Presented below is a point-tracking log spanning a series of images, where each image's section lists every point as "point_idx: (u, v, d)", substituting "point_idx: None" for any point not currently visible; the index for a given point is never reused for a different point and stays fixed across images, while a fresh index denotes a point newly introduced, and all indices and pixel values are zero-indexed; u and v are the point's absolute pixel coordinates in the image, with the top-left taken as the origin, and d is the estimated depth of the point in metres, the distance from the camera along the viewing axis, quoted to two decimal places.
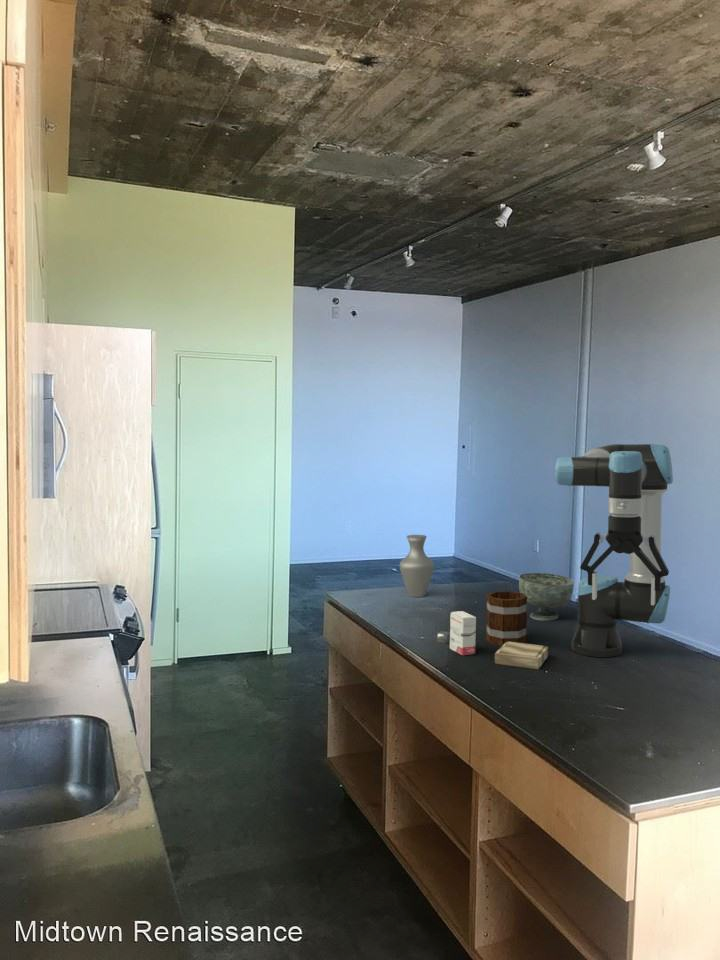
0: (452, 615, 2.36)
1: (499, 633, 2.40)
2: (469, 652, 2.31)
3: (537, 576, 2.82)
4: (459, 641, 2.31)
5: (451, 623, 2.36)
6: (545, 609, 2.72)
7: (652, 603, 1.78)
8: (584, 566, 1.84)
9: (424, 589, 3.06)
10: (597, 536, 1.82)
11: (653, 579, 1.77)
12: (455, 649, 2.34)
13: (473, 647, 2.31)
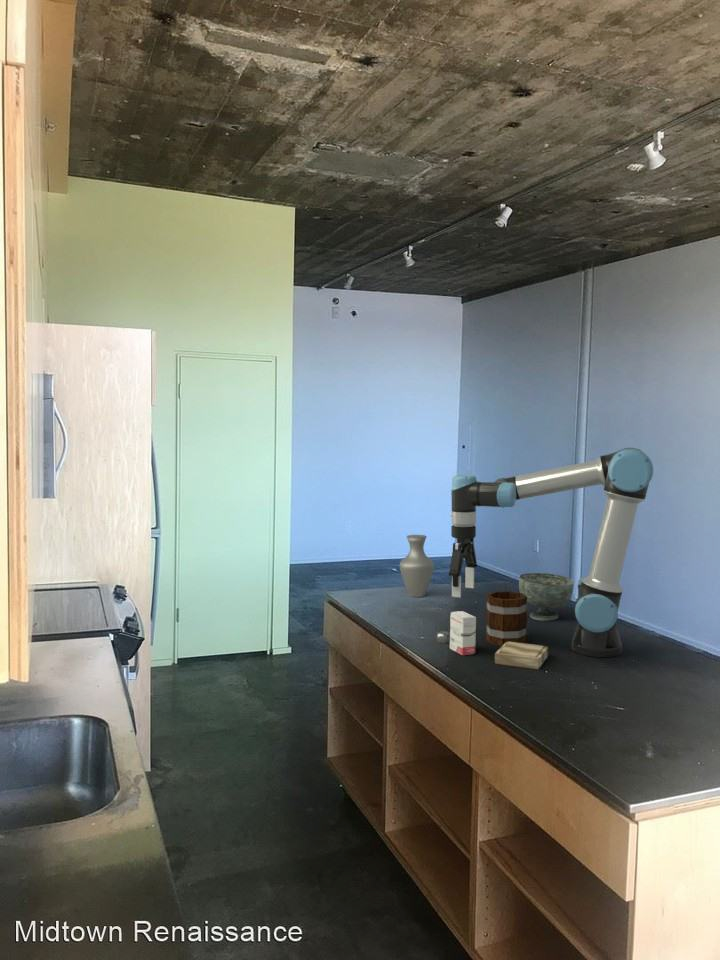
0: (452, 615, 2.36)
1: (499, 633, 2.40)
2: (469, 652, 2.31)
3: (537, 576, 2.82)
4: (459, 641, 2.31)
5: (451, 623, 2.36)
6: (545, 609, 2.72)
7: None
8: None
9: (424, 589, 3.06)
10: None
11: None
12: (455, 649, 2.34)
13: (473, 647, 2.31)
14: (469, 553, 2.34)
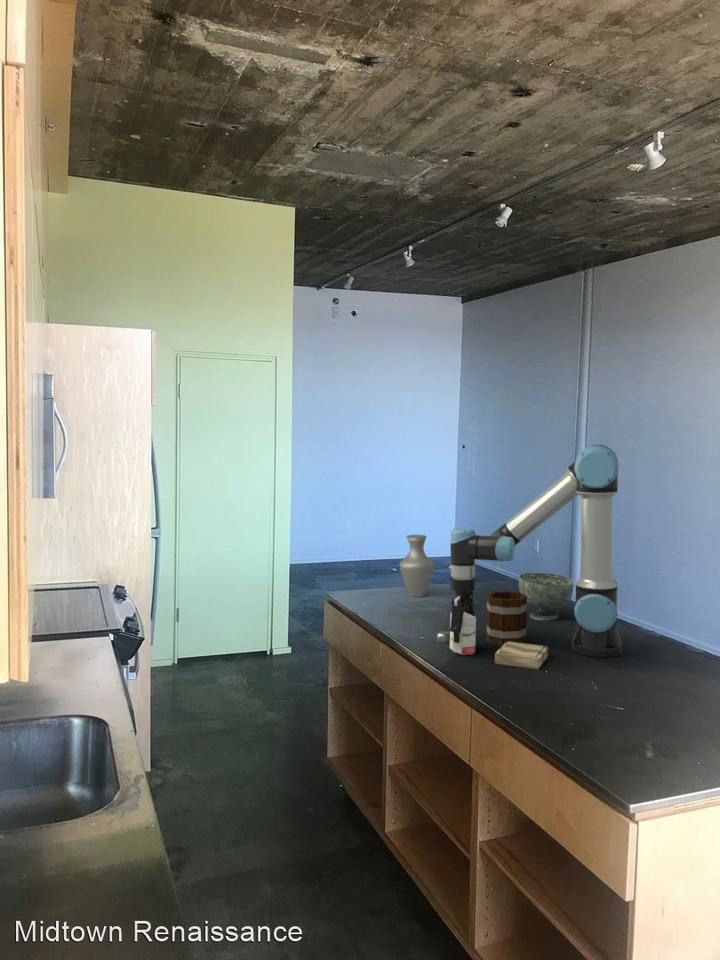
0: None
1: (499, 633, 2.40)
2: (469, 652, 2.31)
3: (537, 576, 2.82)
4: None
5: None
6: (545, 609, 2.72)
7: None
8: None
9: (424, 589, 3.06)
10: None
11: None
12: None
13: (473, 647, 2.31)
14: (467, 606, 2.35)
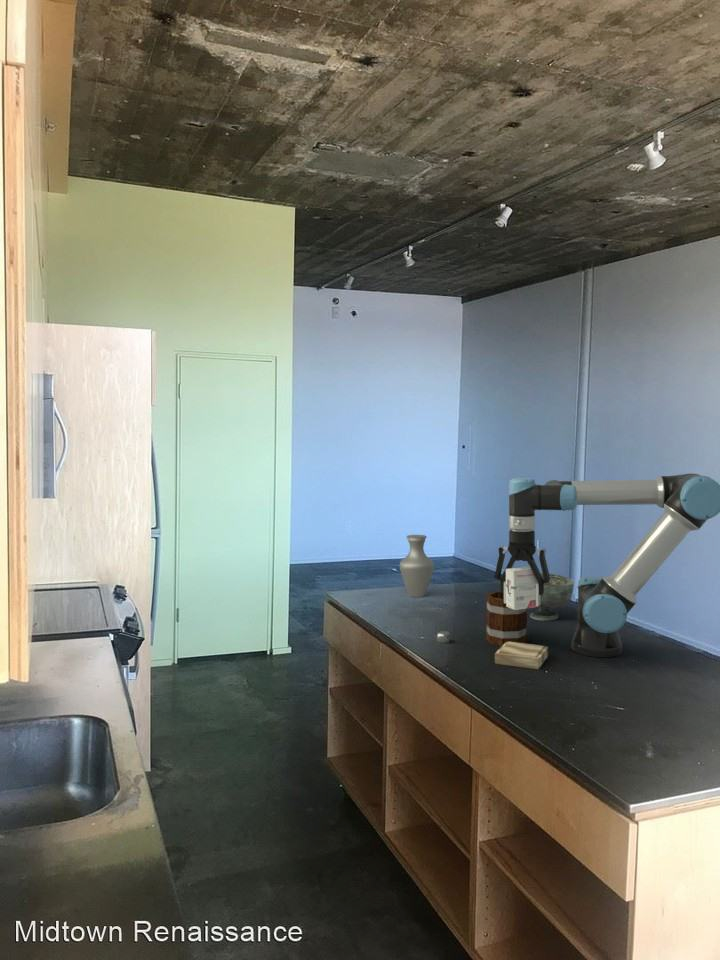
0: (518, 573, 2.21)
1: (499, 633, 2.40)
2: None
3: None
4: (533, 594, 2.23)
5: (517, 582, 2.20)
6: (545, 609, 2.72)
7: (537, 605, 2.21)
8: (497, 575, 2.26)
9: (424, 589, 3.06)
10: (500, 549, 2.25)
11: (537, 585, 2.20)
12: (526, 606, 2.22)
13: None
14: (515, 560, 2.25)
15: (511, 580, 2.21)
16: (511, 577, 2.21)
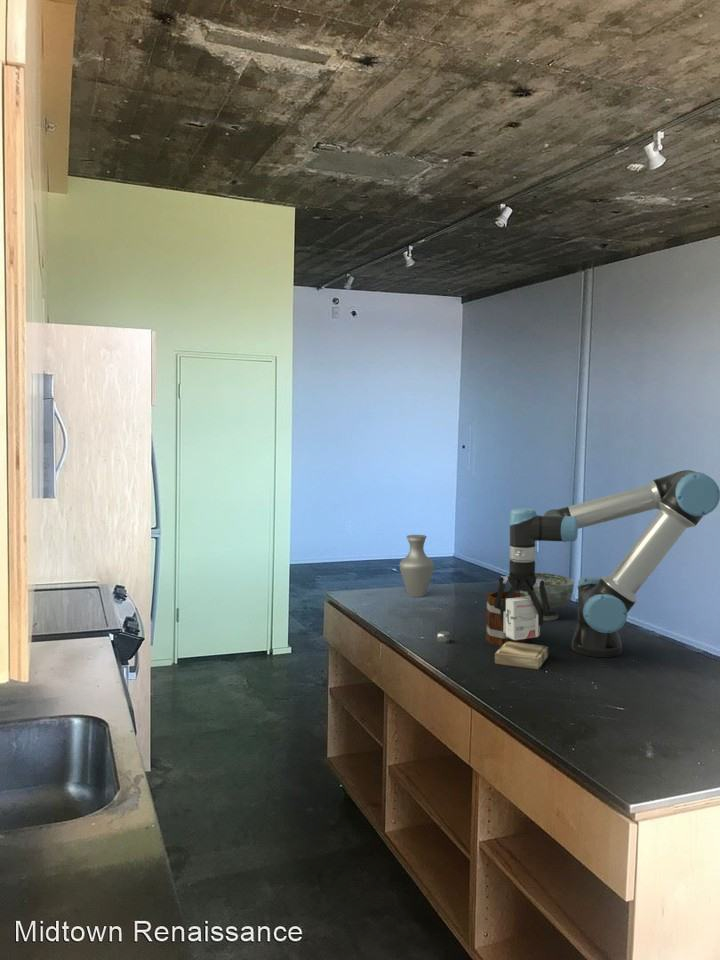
0: (518, 603, 2.21)
1: (499, 633, 2.40)
2: None
3: (537, 576, 2.82)
4: (532, 625, 2.23)
5: (517, 612, 2.21)
6: None
7: (536, 635, 2.22)
8: (497, 605, 2.26)
9: (424, 589, 3.06)
10: (501, 579, 2.25)
11: (537, 616, 2.21)
12: (525, 636, 2.23)
13: None
14: (515, 590, 2.26)
15: (511, 610, 2.22)
16: (511, 608, 2.22)
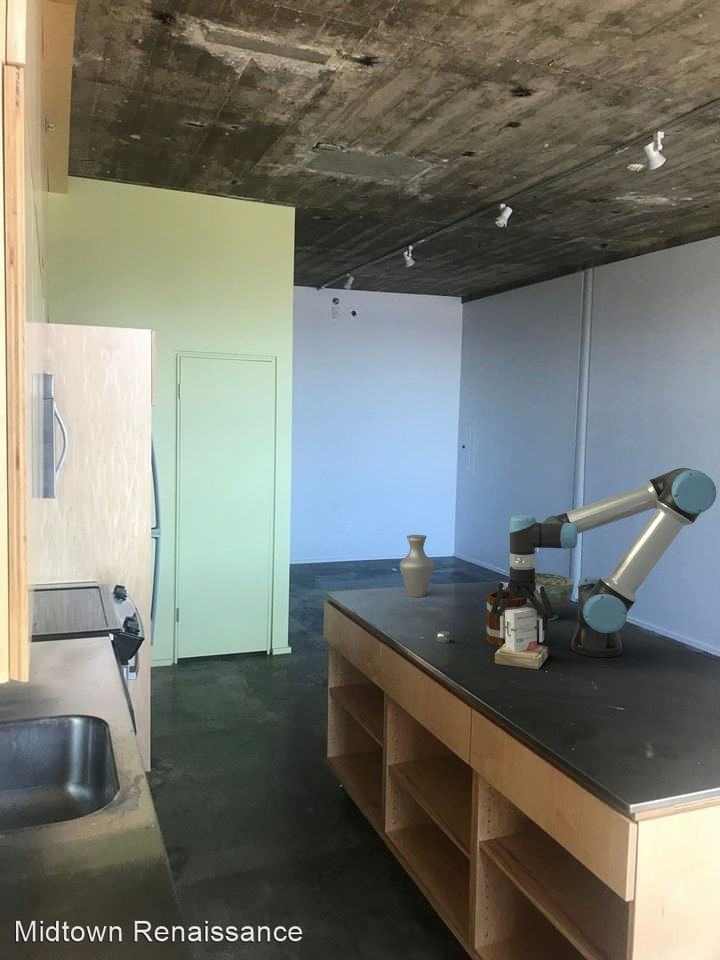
0: (518, 615, 2.22)
1: (499, 633, 2.40)
2: None
3: (537, 576, 2.82)
4: (532, 636, 2.24)
5: (517, 624, 2.21)
6: None
7: (540, 640, 2.21)
8: (494, 610, 2.27)
9: (424, 589, 3.06)
10: (501, 585, 2.25)
11: (541, 621, 2.21)
12: (525, 647, 2.23)
13: None
14: None
15: (511, 622, 2.22)
16: (511, 620, 2.22)
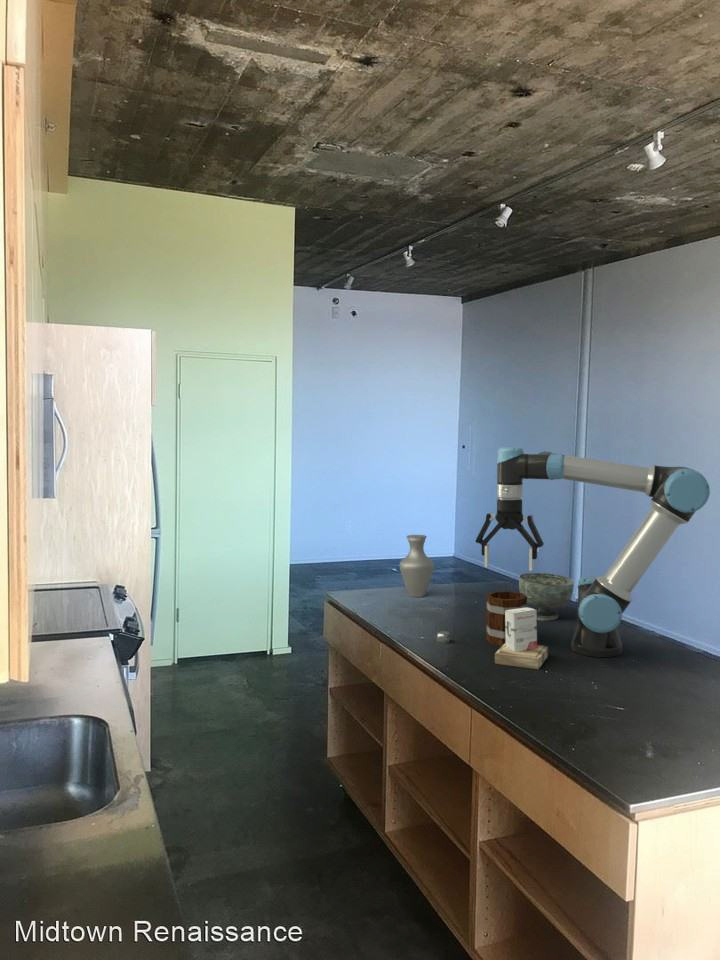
0: (518, 615, 2.22)
1: (499, 633, 2.40)
2: None
3: (537, 576, 2.82)
4: (532, 636, 2.24)
5: (517, 624, 2.21)
6: (545, 609, 2.72)
7: (530, 569, 2.22)
8: (478, 540, 2.28)
9: (424, 589, 3.06)
10: (488, 515, 2.26)
11: (531, 549, 2.21)
12: (525, 647, 2.23)
13: None
14: None
15: (511, 622, 2.22)
16: (511, 620, 2.22)
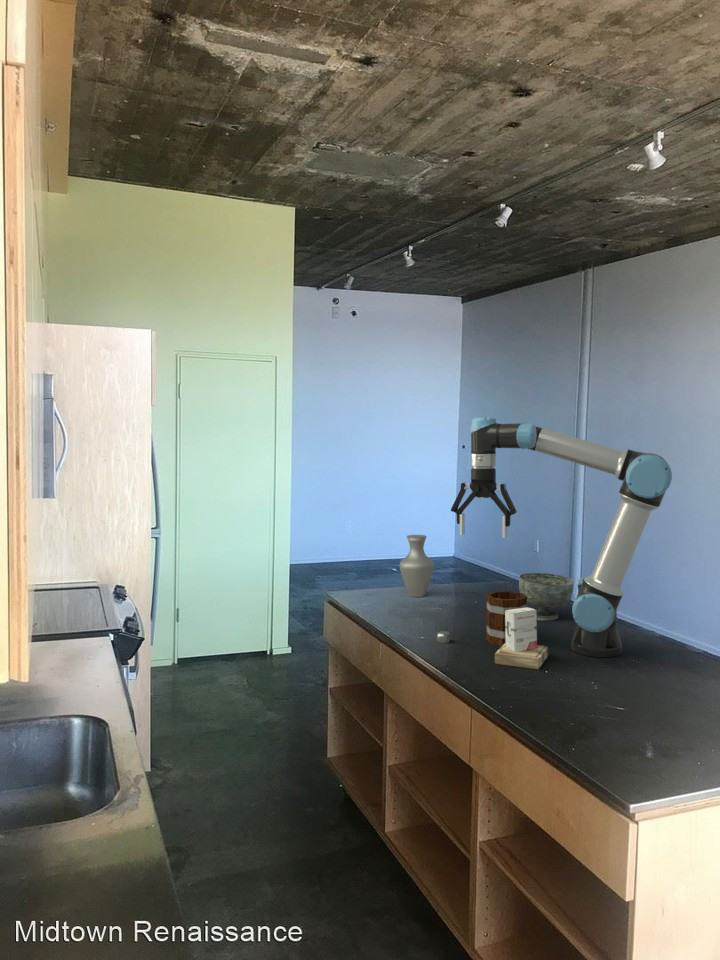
0: (518, 615, 2.22)
1: (499, 633, 2.40)
2: None
3: (537, 576, 2.82)
4: (532, 636, 2.24)
5: (517, 624, 2.21)
6: (545, 609, 2.72)
7: (503, 536, 2.27)
8: (453, 508, 2.33)
9: (424, 589, 3.06)
10: (463, 484, 2.31)
11: (504, 517, 2.26)
12: (525, 647, 2.23)
13: None
14: (474, 497, 2.32)
15: (511, 622, 2.22)
16: (511, 620, 2.22)
